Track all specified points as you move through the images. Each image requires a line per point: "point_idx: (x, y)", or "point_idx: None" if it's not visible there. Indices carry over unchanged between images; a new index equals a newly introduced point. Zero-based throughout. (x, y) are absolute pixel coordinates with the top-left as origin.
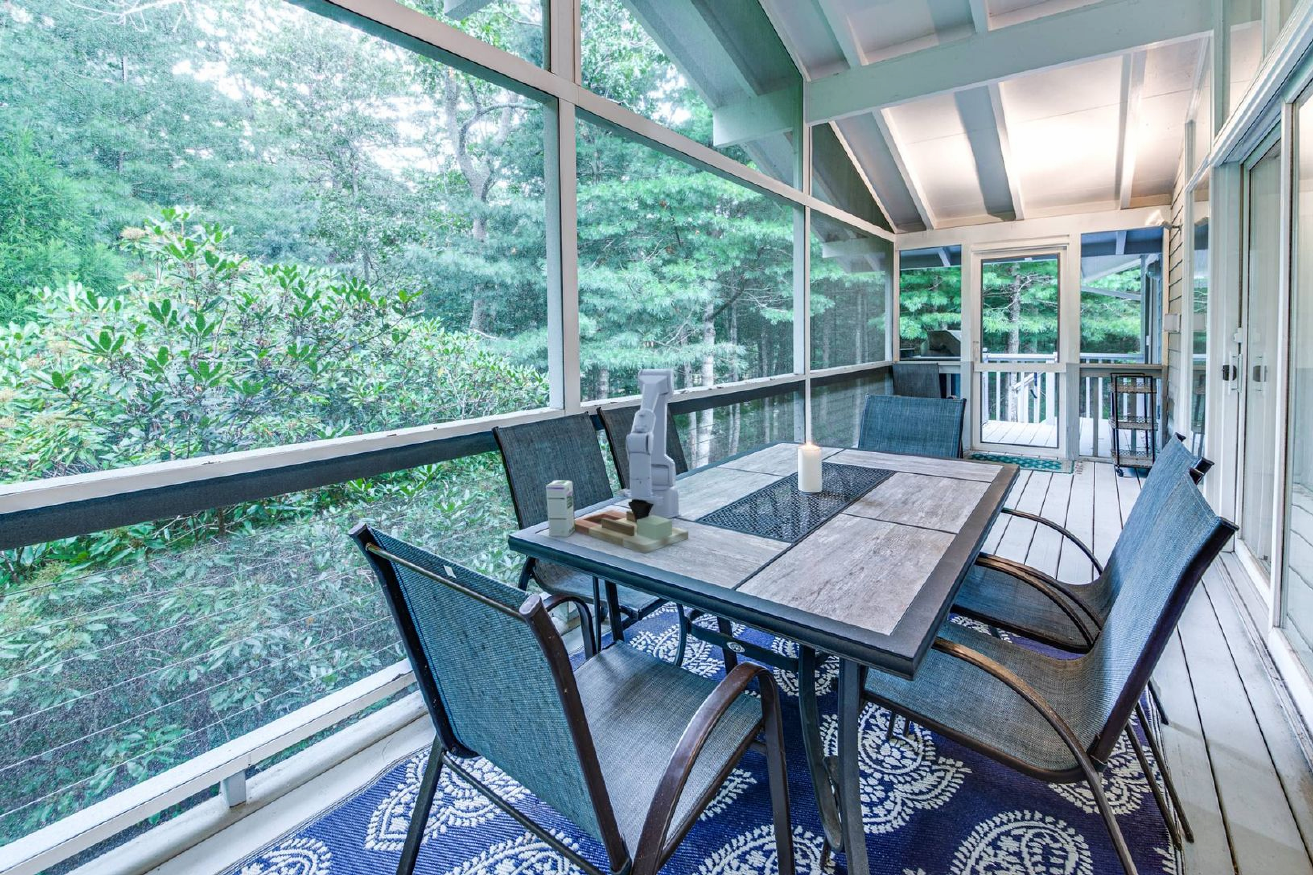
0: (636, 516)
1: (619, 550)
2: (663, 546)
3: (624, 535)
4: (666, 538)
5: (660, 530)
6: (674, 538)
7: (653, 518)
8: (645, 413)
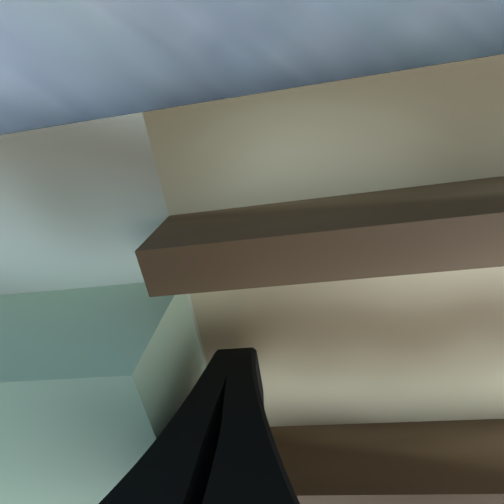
0: (222, 430)
1: (92, 17)
2: None
3: (226, 184)
4: None
5: None
6: None
7: (85, 485)
8: None
